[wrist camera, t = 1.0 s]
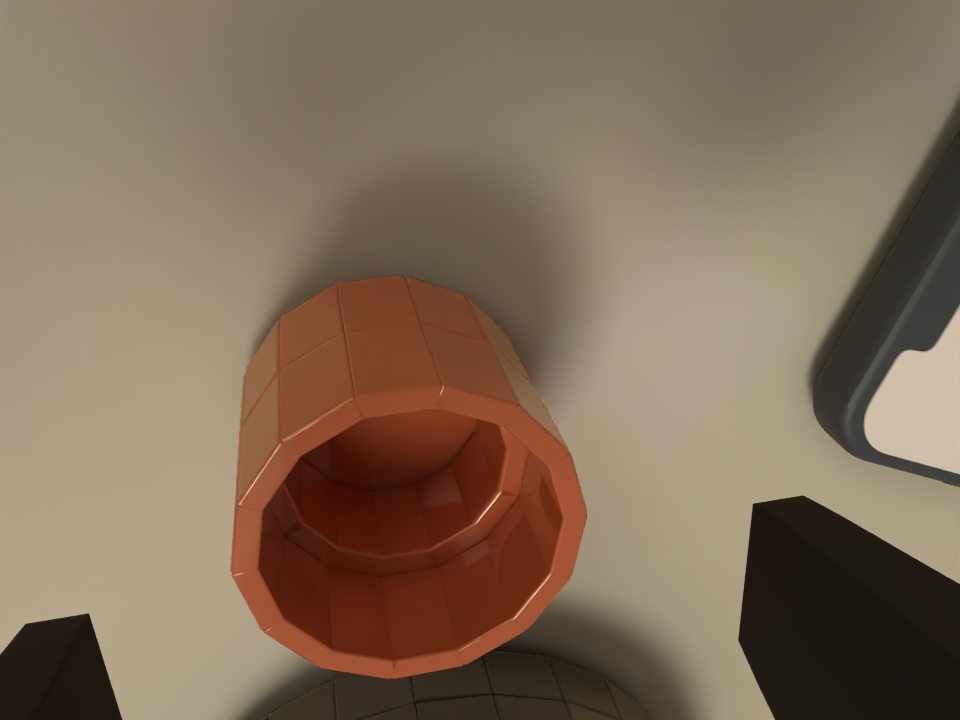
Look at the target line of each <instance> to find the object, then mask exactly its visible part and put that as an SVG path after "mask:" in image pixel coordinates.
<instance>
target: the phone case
mask: <svg viewBox="0 0 960 720" xmlns="http://www.w3.org/2000/svg"><path fill="white" fill-rule="evenodd" d="M813 408H814V413H815V416H816V418H817V421H818V422H819V424H820V425H821V427H822V428H823V429H824V430H825V431H826V432H827V433H828V434H829V435H830V436H831V437H832V438H833V439H834V440H835V441H836V442H837V443H838V444H839V445H840V446H842V447H843V448H844V449H845V450H846V451H847V452H849V453H850V454H851V455H853V456H855V457H857V458H859V459H862V460H865V461H868V462H872V463H876V464H879V465H883V466H887V467H891V468H894V469H898V470H902V471H905V472H909V473H913V474H917V475H920V476H924V477H928V478H932V479H935V480H939V481H942V482H944V483H947V484H950V485H954V486H958V487H960V131H959V133H958V135H957V136H956V138H955V140H954V142H953V143H952V145H951V147H950V148H949V150H948V152H947V154H946V155H945V157H944V159H943V161H942V162H941V164H940V166H939V168H938V169H937V171H936V173H935V174H934V176H933V178H932V180H931V181H930V183H929V185H928V187H927V188H926V190H925V192H924V194H923V195H922V197H921V199H920V200H919V202H918V204H917V206H916V207H915V209H914V211H913V213H912V214H911V216H910V218H909V220H908V221H907V223H906V225H905V226H904V228H903V230H902V232H901V233H900V235H899V237H898V239H897V240H896V242H895V244H894V246H893V247H892V249H891V251H890V252H889V254H888V256H887V258H886V259H885V261H884V263H883V265H882V266H881V268H880V270H879V272H878V273H877V275H876V277H875V278H874V280H873V282H872V284H871V285H870V287H869V289H868V291H867V292H866V294H865V296H864V298H863V299H862V301H861V303H860V304H859V306H858V308H857V310H856V311H855V313H854V315H853V317H852V318H851V320H850V322H849V324H848V325H847V327H846V329H845V330H844V332H843V334H842V336H841V337H840V339H839V341H838V343H837V344H836V346H835V348H834V349H833V351H832V353H831V355H830V356H829V358H828V360H827V362H826V363H825V365H824V367H823V369H822V370H821V372H820V375H819V377H818V379H817V381H816V385H815V388H814V394H813Z"/></svg>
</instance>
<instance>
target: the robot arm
mask: <svg viewBox="0 0 960 720" xmlns="http://www.w3.org/2000/svg"><path fill="white" fill-rule="evenodd" d="M738 641H739V643H740V645H741V647H742V650H743V652H744V654H745V656H746V658H747V661H748V663H749V665H750V667H751V670H752V672H753V674H754V676H755V679H756V681H757V683H758V685H759V687H760V689H761V691H762V693H763V696H764V698H765V700H766V702H767V704H768V706H769V708H770V710H771V712H772V714H773V716H774V718H775V720H960V584H959V583H957V582H955V581H953V580H951V579H950V578H948V577H946V576H944V575H943V574H941V573H939V572H937V571H936V570H934V569H932V568H930V567H929V566H927V565H925V564H924V563H922V562H920V561H918V560H917V559H915V558H913V557H911V556H910V555H908V554H906V553H905V552H903V551H901V550H899V549H898V548H896V547H894V546H892V545H891V544H889V543H887V542H886V541H884V540H882V539H880V538H879V537H877V536H875V535H874V534H872V533H870V532H868V531H867V530H865V529H863V528H861V527H860V526H858V525H856V524H854V523H853V522H851V521H849V520H848V519H846V518H844V517H842V516H840V515H839V514H837V513H835V512H833V511H831V510H830V509H828V508H826V507H824V506H822V505H820V504H819V503H817V502H815V501H813V500H811V499H809V498H807V497H805V496H797V497H791V498H785V499H779V500H773V501H767V502H761V503H755V504H753V509H752V518H751V528H750V537H749V546H748V555H747V565H746V574H745V583H744V593H743V602H742V611H741V620H740V630H739V639H738ZM0 720H122V718H121V714H120V711H119V708H118V705H117V702H116V698H115V695H114V692H113V689H112V686H111V683H110V679H109V676H108V673H107V670H106V667H105V663H104V660H103V657H102V654H101V651H100V647H99V644H98V641H97V638H96V635H95V632H94V628H93V625H92V622H91V619H90V616H89V614H83V615H77V616H71V617H65V618H59V619H53V620H47V621H41V622H34V623H28V624H25V625H24V627H23V628H22V629H21V630H20V631H19V633H18V634H17V635H16V636H15V637H14V639H13V640H12V641H11V642H10V644H9V645H8V646H7V647H6V648H5V650H4V651H3V652H2V653H1V654H0Z"/></svg>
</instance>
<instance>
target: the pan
mask: <svg viewBox="0 0 960 720" xmlns="http://www.w3.org/2000/svg"><path fill="white" fill-rule="evenodd" d="M260 720H651V718H650V717H649V715H648V713H647V712H646V711H645V710H644V708H643V707H641V706H640V705H639V704H637V703H636V702H635V701H634V700H632V699H631V698H630V697H628V696H627V695H626V694H625V693H623V692H622V691H621V690H619V689H618V688H617V687H615V686H614V685H613V684H612V683H610V682H609V681H608V680H606V679H603V677H601V676H599V675H596V674H594V673H591V672H588V671H586V670H583V669H580V668H577V667H575V666H572V665H569V664H567V663H564V662H561V661H559V660H556V659H553V658H548V657H546V656H540V655H531V654H522V653H513V652H504V651H495V650H491V651H490V652H488V653H486V654H484V655H483V656H481V657H479V658H477V659H476V660H474V661H472V662H470V663H469V664H467V665H465V664H464V665H463V666H461V667H456V668H450V669H445V670H440V671H434V672H429V673H424V674H419V675H413V676H408V677H403V678H397V679H392V678H391V679H385V678H379V677H372V676H366V675H360V674H353V673H349V674H346V675H342V676H339V677H336V678H334V681H333V680H330V681H328V682H326V683H325V684H323V685H321V686H319V687H317V688H315V689H313V690H311V691H310V692H308V693H306V694H304V695H302V696H300V697H298V698H297V699H295V700H293V701H291V702H289V703H287V704H285V705H283V706H282V707H280V708H278V709H276V710H274V711H272V712H270V713H269V715H265V716H264V717H263V718H262V719H260Z"/></svg>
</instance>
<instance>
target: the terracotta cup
mask: <svg viewBox="0 0 960 720" xmlns="http://www.w3.org/2000/svg"><path fill="white" fill-rule="evenodd" d="M586 519H587V509H586V505H585V501H584V498H583V494H582V491H581V487H580V484H579V480H578V476H577V473H576V469H575V466H574V462H573V459H572V455H571V453H570V451H569V449H568V447H567V446H566V444H565V442H564V440H563V438H562V436H561V434H560V433H559V431H558V429H557V427H556V425H555V423H554V421H553V420H552V418H551V416H550V414H549V412H548V410H547V408H546V407H545V405H544V403H543V401H542V399H541V397H540V396H539V394H538V392H537V390H536V389H535V387H534V385H533V383H532V381H531V379H530V377H529V375H528V374H527V372H526V370H525V368H524V366H523V364H522V362H521V361H520V359H519V357H518V355H517V353H516V351H515V350H514V348H513V346H512V344H511V342H510V340H509V339H508V337H507V335H506V333H505V332H504V331H503V330H502V329H500V328H499V327H498V326H497V325H496V324H495V323H494V322H493V321H492V320H491V319H490V318H489V317H488V316H487V315H486V314H485V313H484V312H483V311H482V310H481V309H480V308H479V307H478V306H477V305H476V304H475V303H474V302H473V301H472V300H471V299H470V298H469V297H468V296H463V295H462V294H461V293H458V292H454V291H451V290H448V289H445V288H442V287H439V286H435V285H432V284H429V283H426V282H423V281H420V280H417V279H413V278H410V277H405V278H404V276H403V275H397V276H389V277H381V278H373V279H364V280H356V281H348V282H340V283H337V285H333V286H331V287H329V288H328V289H326V290H324V291H323V292H321V293H319V294H318V295H316V296H314V297H313V298H311V299H309V300H308V301H306V302H304V303H303V304H301V305H299V306H298V307H296V308H295V309H293V310H291V311H290V312H288V313H286V314H285V315H283V316H281V318H280V321H278V322H276V323H275V325H274V326H273V328H272V329H271V331H270V332H269V334H268V335H267V337H266V338H265V340H264V342H263V343H262V345H261V346H260V348H259V349H258V351H257V352H256V354H255V355H254V357H253V358H252V360H251V362H250V363H249V365H248V366H247V368H246V373H245V375H244V377H243V390H242V404H241V419H240V433H239V448H238V463H237V479H236V494H235V509H234V524H233V539H232V554H231V569H230V570H231V573H232V577H233V579H234V581H235V583H236V584H237V586H238V588H239V590H240V592H241V594H242V595H243V597H244V599H245V601H246V603H247V605H248V606H249V608H250V610H251V612H252V614H253V615H254V617H255V619H256V621H257V623H258V625H259V626H260V628H261V630H262V631H264V633H265V634H267V635H268V636H270V637H272V638H273V639H275V640H276V641H278V642H279V643H281V644H283V645H284V646H286V647H287V648H289V649H291V650H292V651H294V652H295V653H297V654H298V655H300V656H302V657H303V658H305V659H306V660H308V661H310V662H311V663H313V664H314V665H316V666H317V667H321V668H323V669H328V670H334V671H341V672H347V673H353V674H360V675H366V676H372V677H379V678H385V679H391V678H392V679H397V678H403V677H408V676H413V675H419V674H424V673H429V672H434V671H440V670H445V669H450V668H456V667H461V666H463V665H464V664H465V665H467V664H469V663H470V662H472V661H474V660H476V659H477V658H479V657H481V656H483V655H484V654H486V653H488V652H490V651H491V650H493V649H495V648H497V647H499V646H500V645H502V644H504V643H506V642H507V641H509V640H511V639H513V638H514V637H516V636H518V635H520V634H521V633H523V632H525V631H526V629H528V628H530V626H531V625H532V624H533V623H534V622H535V620H536V619H537V618H538V617H539V616H540V614H541V613H542V612H543V611H544V610H545V608H546V607H547V606H548V605H549V604H550V602H551V601H552V600H553V599H554V598H555V596H556V595H557V594H558V593H559V592H560V590H561V589H562V588H563V587H564V586H565V584H566V583H567V582H568V581H569V580H570V576H572V573H573V569H574V565H575V561H576V558H577V554H578V550H579V546H580V542H581V538H582V535H583V531H584V527H585V523H586Z"/></svg>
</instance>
